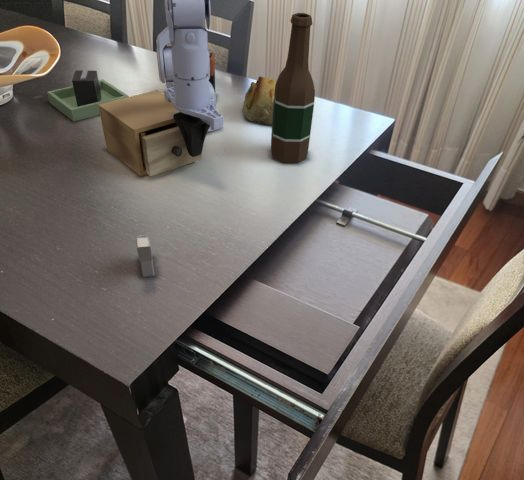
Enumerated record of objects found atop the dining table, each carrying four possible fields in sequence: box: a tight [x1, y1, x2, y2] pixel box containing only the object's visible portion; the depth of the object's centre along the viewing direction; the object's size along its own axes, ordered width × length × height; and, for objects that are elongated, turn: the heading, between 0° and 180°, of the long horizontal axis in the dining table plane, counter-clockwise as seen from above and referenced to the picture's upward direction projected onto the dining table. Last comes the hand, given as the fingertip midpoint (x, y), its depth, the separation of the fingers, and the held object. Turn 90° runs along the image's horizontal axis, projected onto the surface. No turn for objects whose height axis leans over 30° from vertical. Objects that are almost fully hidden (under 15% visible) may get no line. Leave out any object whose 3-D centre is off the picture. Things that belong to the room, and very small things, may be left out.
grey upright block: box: [135, 233, 155, 278], centre depth 68 cm, size 7×2×8 cm, turn 13°
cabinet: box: [98, 89, 179, 177], centre depth 92 cm, size 13×13×9 cm
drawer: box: [138, 122, 202, 177], centre depth 91 cm, size 13×11×7 cm
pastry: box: [241, 75, 277, 126], centre depth 107 cm, size 14×12×8 cm
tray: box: [46, 79, 130, 123], centre depth 108 cm, size 14×12×2 cm
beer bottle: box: [270, 12, 316, 164], centre depth 89 cm, size 8×8×24 cm
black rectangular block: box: [71, 69, 101, 107], centre depth 106 cm, size 6×4×6 cm
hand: (195, 154), depth 89 cm, fingers closed
